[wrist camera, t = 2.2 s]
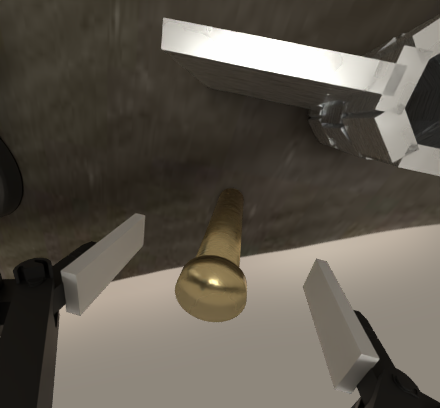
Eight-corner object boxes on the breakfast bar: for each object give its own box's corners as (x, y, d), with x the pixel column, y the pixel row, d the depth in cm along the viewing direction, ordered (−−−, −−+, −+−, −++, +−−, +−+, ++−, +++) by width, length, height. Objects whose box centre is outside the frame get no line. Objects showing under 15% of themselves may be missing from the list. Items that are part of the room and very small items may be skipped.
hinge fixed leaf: (203, 117, 22) (156, 114, 11) (215, 38, 19) (169, -74, 8) (366, 153, 21) (494, 188, 10) (403, 76, 18) (635, 8, 7)
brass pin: (212, 210, 26) (171, 312, 12) (218, 181, 24) (179, 258, 11) (243, 217, 26) (237, 329, 12) (251, 188, 24) (255, 277, 10)
